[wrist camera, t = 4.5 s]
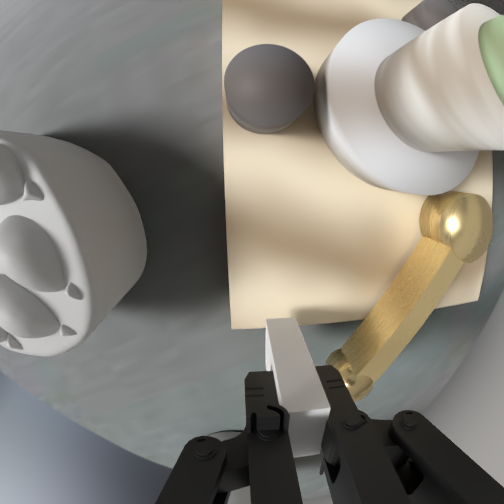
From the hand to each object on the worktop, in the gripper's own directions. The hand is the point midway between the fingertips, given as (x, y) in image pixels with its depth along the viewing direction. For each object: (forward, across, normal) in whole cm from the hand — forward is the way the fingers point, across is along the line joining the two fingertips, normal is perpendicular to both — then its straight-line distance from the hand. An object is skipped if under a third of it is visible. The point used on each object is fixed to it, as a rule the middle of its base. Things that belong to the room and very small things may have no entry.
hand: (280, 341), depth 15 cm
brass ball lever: (+1, +7, +2) cm, 8 cm away
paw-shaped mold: (+4, -14, +6) cm, 15 cm away
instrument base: (+3, +6, +11) cm, 13 cm away
